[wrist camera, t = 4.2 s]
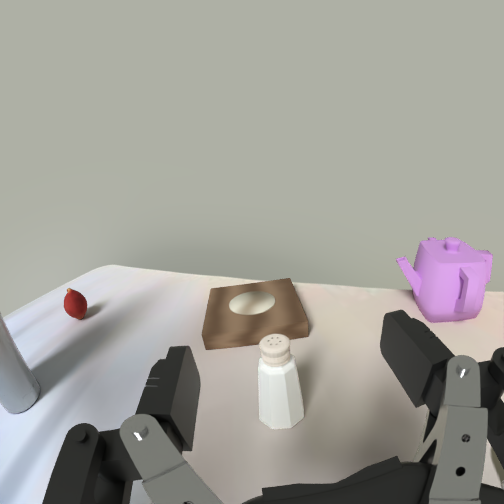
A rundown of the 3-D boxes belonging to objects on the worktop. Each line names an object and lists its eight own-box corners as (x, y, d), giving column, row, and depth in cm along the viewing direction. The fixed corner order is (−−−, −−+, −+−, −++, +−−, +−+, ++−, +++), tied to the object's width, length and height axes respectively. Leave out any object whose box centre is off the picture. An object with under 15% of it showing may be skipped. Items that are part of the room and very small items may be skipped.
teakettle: (465, 339, 30) (484, 265, 26) (386, 306, 44) (391, 240, 40) (489, 297, 38) (500, 237, 34) (425, 275, 52) (430, 221, 48)
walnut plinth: (205, 349, 40) (201, 333, 39) (213, 301, 55) (210, 287, 54) (308, 336, 40) (307, 319, 39) (290, 291, 55) (289, 277, 54)
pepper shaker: (313, 419, 25) (315, 347, 22) (267, 437, 24) (255, 368, 20) (293, 390, 30) (289, 318, 27) (252, 404, 29) (237, 333, 25)
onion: (81, 311, 56) (70, 282, 53) (96, 313, 54) (84, 282, 52) (66, 323, 51) (54, 292, 48) (81, 326, 49) (67, 294, 47)
